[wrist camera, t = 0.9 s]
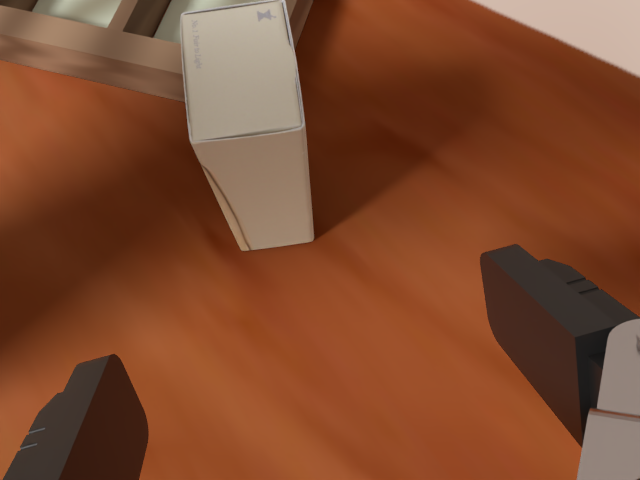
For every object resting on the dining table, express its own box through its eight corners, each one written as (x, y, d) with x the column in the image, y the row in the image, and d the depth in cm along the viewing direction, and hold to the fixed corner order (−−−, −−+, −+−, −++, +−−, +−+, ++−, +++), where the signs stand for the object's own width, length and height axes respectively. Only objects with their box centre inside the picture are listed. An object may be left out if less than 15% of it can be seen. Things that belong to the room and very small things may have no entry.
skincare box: (231, 159, 33) (174, 6, 22) (305, 148, 33) (285, -9, 22) (241, 256, 31) (182, 143, 20) (319, 245, 31) (306, 126, 20)
